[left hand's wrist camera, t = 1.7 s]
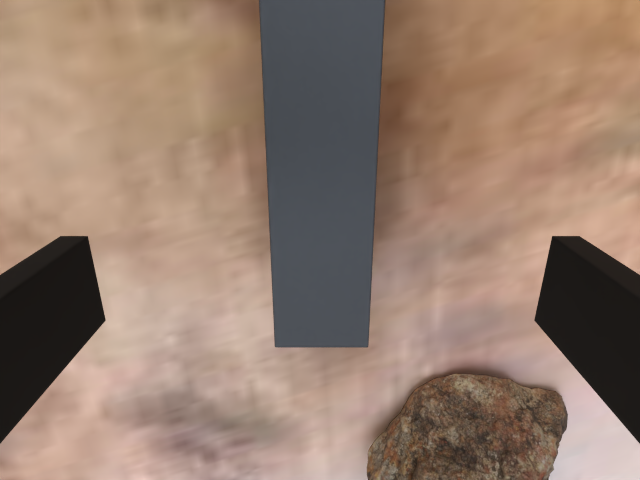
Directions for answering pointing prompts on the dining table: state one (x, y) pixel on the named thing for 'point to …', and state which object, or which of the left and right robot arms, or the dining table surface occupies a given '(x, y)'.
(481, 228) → the dining table surface
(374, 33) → the bar
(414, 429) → the rock
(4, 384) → the left robot arm
